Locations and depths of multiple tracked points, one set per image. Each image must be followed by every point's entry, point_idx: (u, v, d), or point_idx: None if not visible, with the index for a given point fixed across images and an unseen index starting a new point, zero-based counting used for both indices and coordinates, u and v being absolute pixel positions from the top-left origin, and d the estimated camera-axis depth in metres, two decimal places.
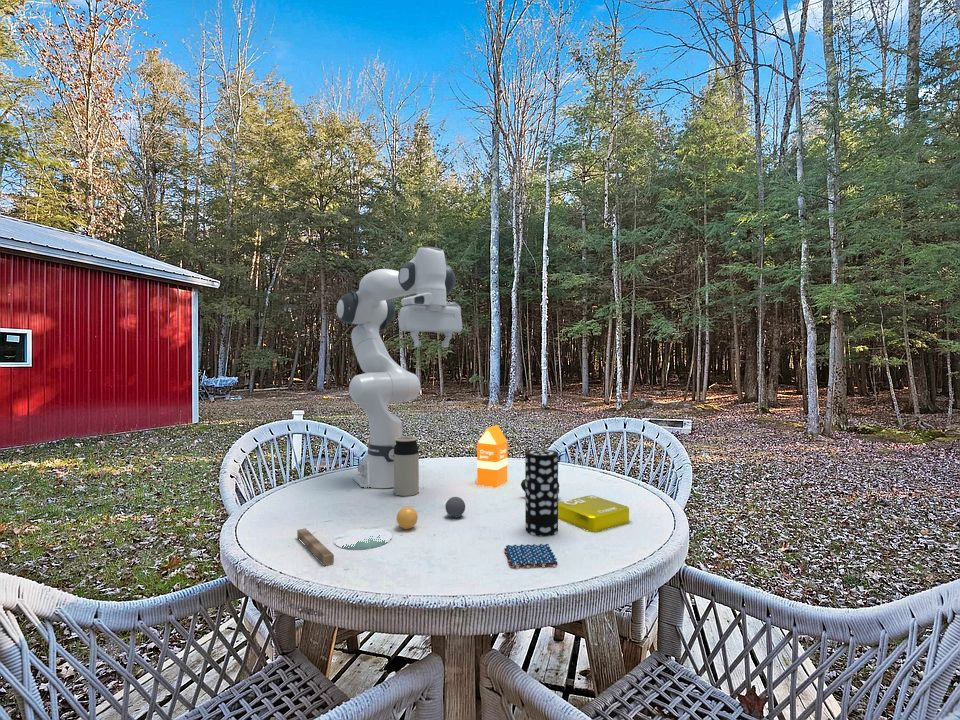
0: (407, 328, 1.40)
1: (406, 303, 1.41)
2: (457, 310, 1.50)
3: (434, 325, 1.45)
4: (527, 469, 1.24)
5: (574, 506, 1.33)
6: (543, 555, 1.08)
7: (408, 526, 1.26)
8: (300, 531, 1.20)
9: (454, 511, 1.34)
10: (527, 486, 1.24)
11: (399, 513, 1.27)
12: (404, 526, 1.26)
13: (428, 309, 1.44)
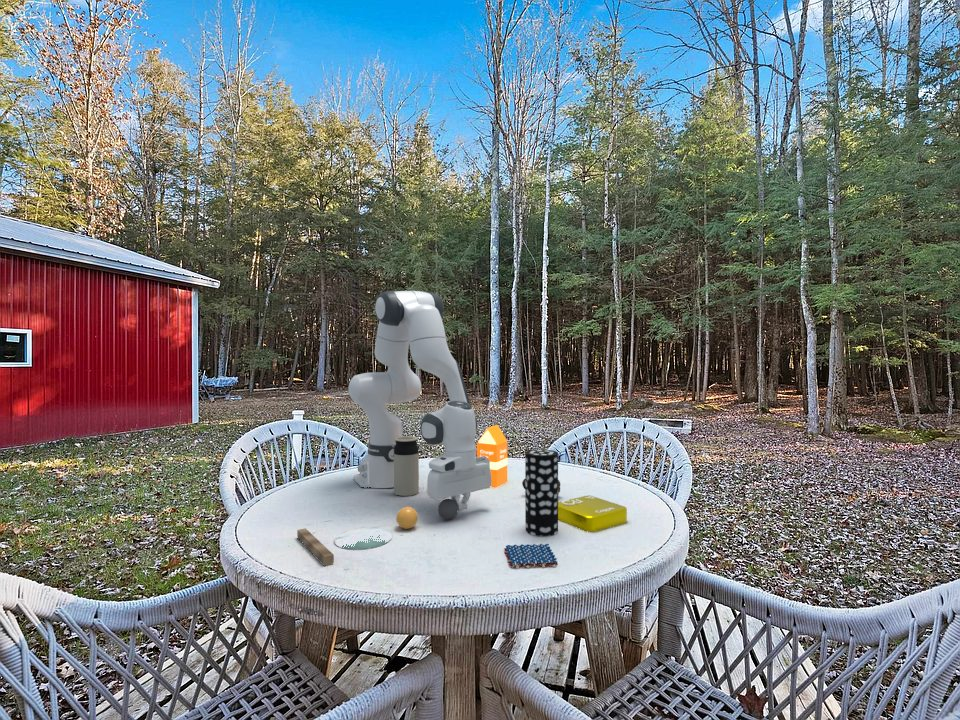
0: (437, 498, 1.31)
1: (435, 469, 1.32)
2: (487, 466, 1.41)
3: (464, 487, 1.36)
4: (527, 469, 1.24)
5: (571, 506, 1.33)
6: (543, 555, 1.08)
7: (408, 526, 1.26)
8: (300, 531, 1.20)
9: (447, 516, 1.33)
10: (527, 486, 1.24)
11: (399, 513, 1.27)
12: (404, 526, 1.26)
13: (458, 472, 1.34)
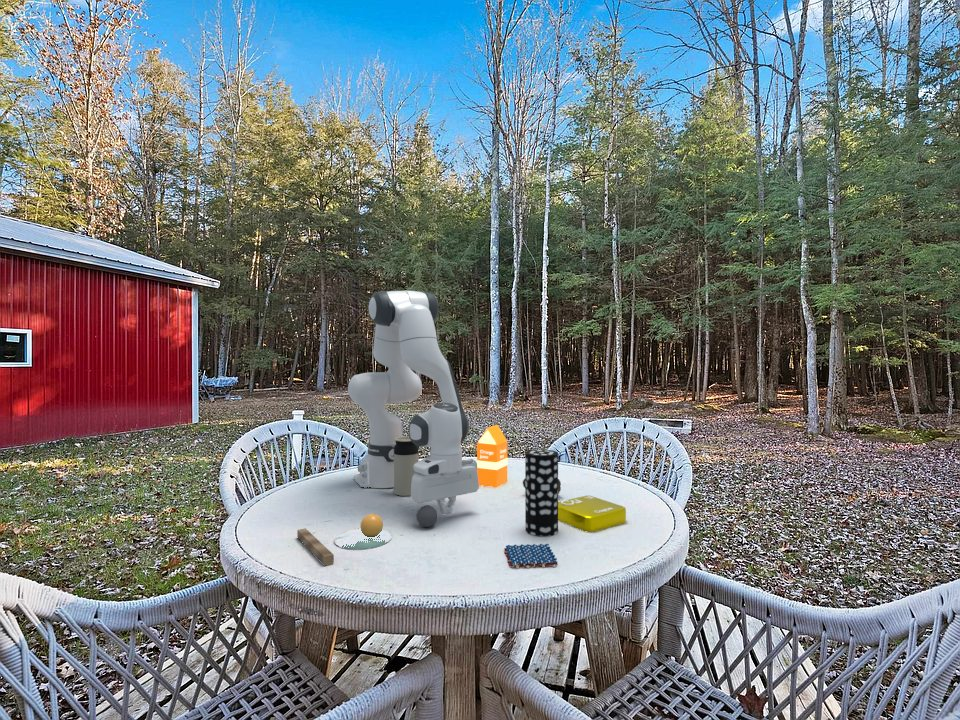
0: (420, 501, 1.28)
1: (419, 472, 1.29)
2: (473, 469, 1.38)
3: (449, 491, 1.34)
4: (527, 469, 1.24)
5: (571, 506, 1.33)
6: (543, 555, 1.08)
7: (375, 520, 1.21)
8: (300, 531, 1.20)
9: (437, 516, 1.29)
10: (527, 486, 1.24)
11: None
12: (377, 518, 1.21)
13: (443, 476, 1.32)
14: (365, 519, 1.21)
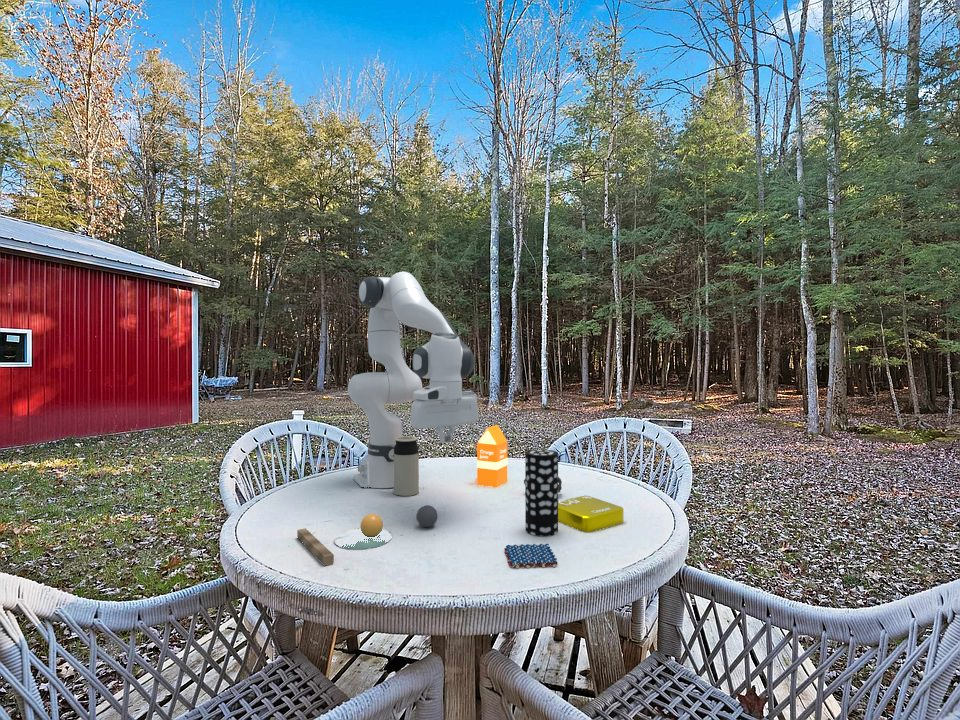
0: (420, 426, 1.28)
1: (419, 398, 1.29)
2: (473, 400, 1.38)
3: (449, 419, 1.33)
4: (527, 469, 1.24)
5: (568, 506, 1.33)
6: (543, 555, 1.08)
7: (375, 520, 1.21)
8: (300, 531, 1.20)
9: (437, 516, 1.29)
10: (527, 486, 1.24)
11: None
12: (377, 518, 1.21)
13: (442, 403, 1.32)
14: (365, 519, 1.21)
